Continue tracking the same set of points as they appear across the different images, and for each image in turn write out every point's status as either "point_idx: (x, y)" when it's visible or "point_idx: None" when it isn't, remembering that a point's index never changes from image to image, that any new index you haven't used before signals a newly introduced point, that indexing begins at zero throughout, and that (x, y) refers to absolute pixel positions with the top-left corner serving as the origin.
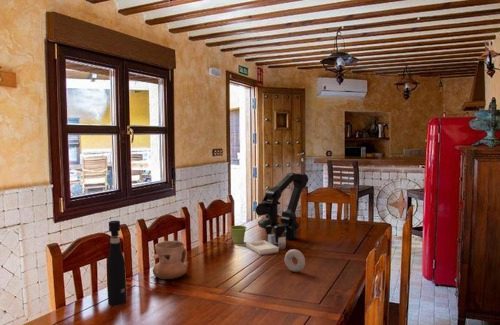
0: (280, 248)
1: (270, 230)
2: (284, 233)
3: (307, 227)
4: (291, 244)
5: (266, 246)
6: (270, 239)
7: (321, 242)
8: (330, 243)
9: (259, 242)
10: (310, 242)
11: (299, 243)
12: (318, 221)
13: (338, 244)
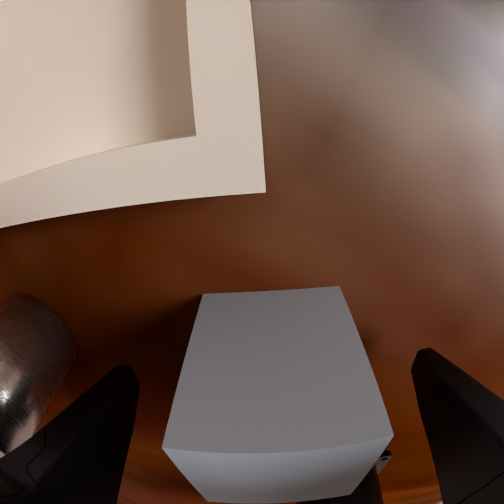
0: (8, 302)
1: (455, 492)
2: (360, 498)
3: (426, 494)
4: (153, 438)
5: (26, 142)
6: (228, 361)
7: (167, 499)
8: (143, 499)
9: (196, 16)
10: (180, 490)
11: (171, 468)
12: (440, 499)
13: (125, 498)
